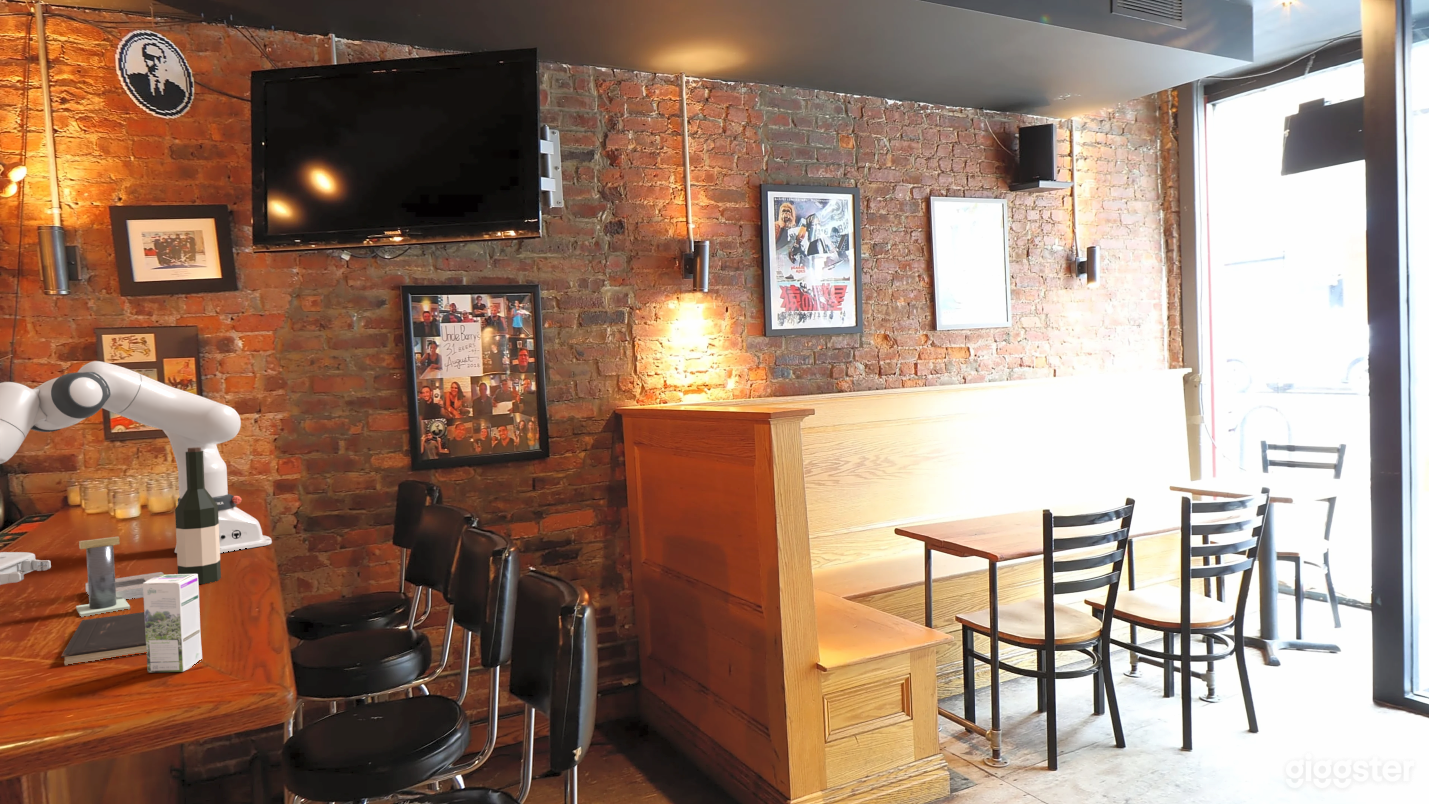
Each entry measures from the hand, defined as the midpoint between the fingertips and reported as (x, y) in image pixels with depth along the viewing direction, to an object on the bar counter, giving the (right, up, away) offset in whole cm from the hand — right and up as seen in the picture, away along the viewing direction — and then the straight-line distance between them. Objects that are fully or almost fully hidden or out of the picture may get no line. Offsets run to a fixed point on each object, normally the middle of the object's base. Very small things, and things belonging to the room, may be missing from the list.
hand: (35, 570), depth 171 cm
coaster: (+12, -8, +2) cm, 14 cm away
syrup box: (+48, -9, -33) cm, 59 cm away
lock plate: (+8, -8, +15) cm, 19 cm away
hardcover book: (+30, -9, -18) cm, 36 cm away
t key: (+12, -7, +2) cm, 14 cm away
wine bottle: (+18, -7, +24) cm, 31 cm away
